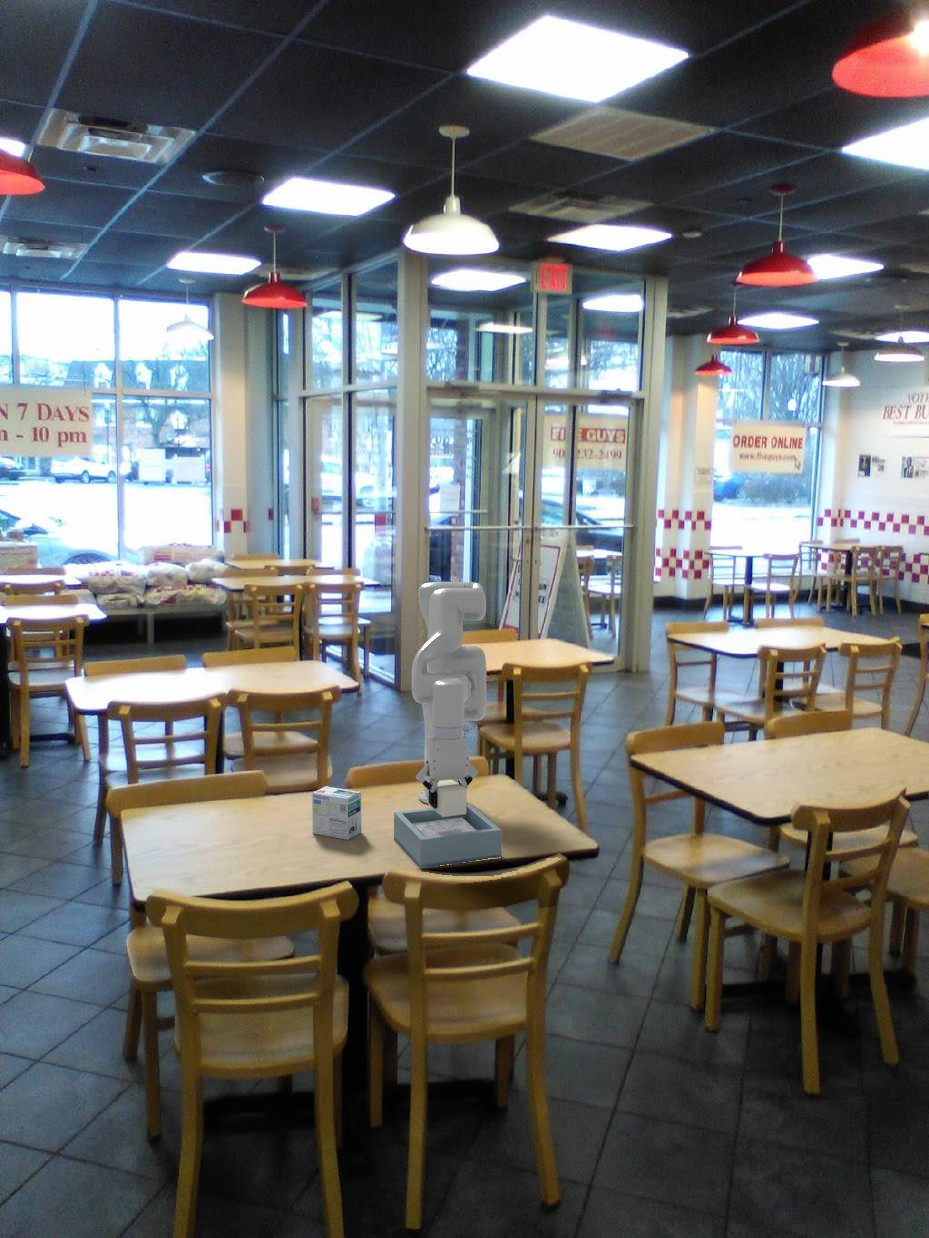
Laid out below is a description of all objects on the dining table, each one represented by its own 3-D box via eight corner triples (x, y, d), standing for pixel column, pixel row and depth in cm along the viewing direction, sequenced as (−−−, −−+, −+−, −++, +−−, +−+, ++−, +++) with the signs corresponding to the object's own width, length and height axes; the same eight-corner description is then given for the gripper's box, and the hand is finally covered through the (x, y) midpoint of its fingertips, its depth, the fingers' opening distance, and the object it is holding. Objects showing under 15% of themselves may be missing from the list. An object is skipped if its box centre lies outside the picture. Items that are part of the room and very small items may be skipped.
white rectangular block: (428, 805, 259) (428, 781, 258) (450, 802, 261) (451, 779, 260) (442, 817, 251) (443, 792, 250) (466, 813, 253) (466, 789, 252)
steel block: (412, 838, 261) (412, 823, 261) (461, 832, 266) (461, 817, 265) (429, 857, 249) (430, 841, 249) (481, 850, 254) (481, 834, 253)
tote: (393, 839, 263) (394, 812, 262) (469, 830, 271) (469, 803, 270) (420, 869, 245) (420, 839, 244) (500, 858, 252) (501, 829, 251)
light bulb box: (362, 832, 268) (362, 790, 266) (348, 841, 262) (348, 798, 260) (325, 825, 273) (325, 784, 271) (311, 833, 267) (311, 792, 265)
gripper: (475, 725, 260) (474, 797, 263) (408, 731, 254) (407, 804, 256) (487, 732, 253) (486, 806, 256) (418, 738, 247) (417, 813, 249)
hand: (446, 804), depth 256 cm, fingers closed on white rectangular block, 6 cm apart
